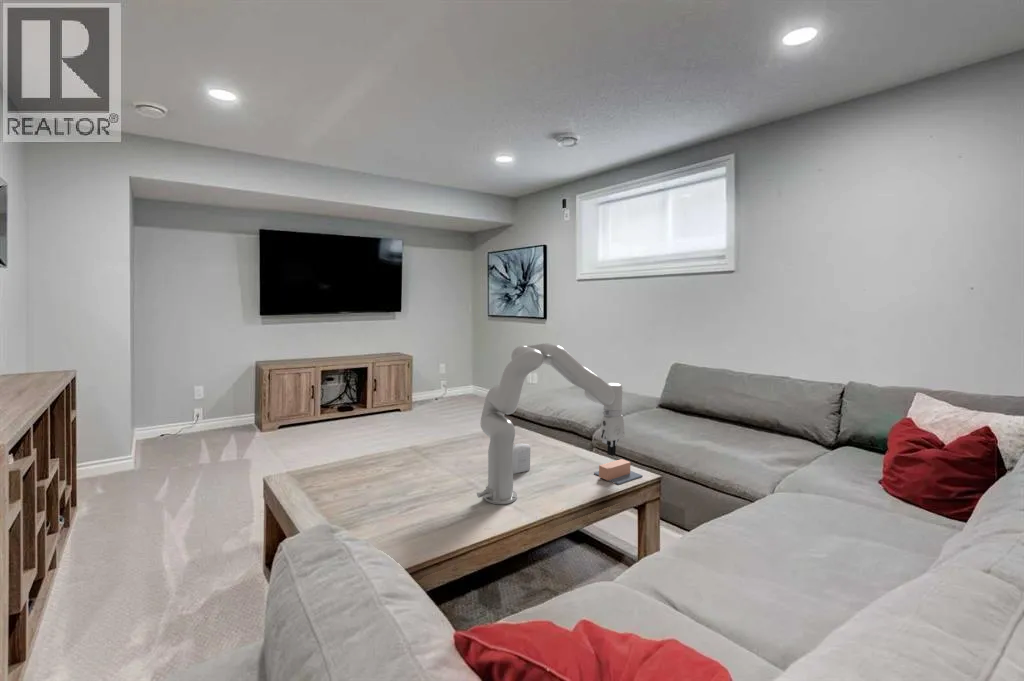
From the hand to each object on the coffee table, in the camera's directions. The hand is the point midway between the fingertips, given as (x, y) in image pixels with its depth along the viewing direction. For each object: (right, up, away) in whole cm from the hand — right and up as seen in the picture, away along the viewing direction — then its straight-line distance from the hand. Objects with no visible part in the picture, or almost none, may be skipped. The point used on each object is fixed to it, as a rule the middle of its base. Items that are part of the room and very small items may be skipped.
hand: (611, 454), depth 203 cm
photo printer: (-39, -9, +8) cm, 41 cm away
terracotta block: (-4, -7, -2) cm, 8 cm away
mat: (+4, -10, +4) cm, 11 cm away
